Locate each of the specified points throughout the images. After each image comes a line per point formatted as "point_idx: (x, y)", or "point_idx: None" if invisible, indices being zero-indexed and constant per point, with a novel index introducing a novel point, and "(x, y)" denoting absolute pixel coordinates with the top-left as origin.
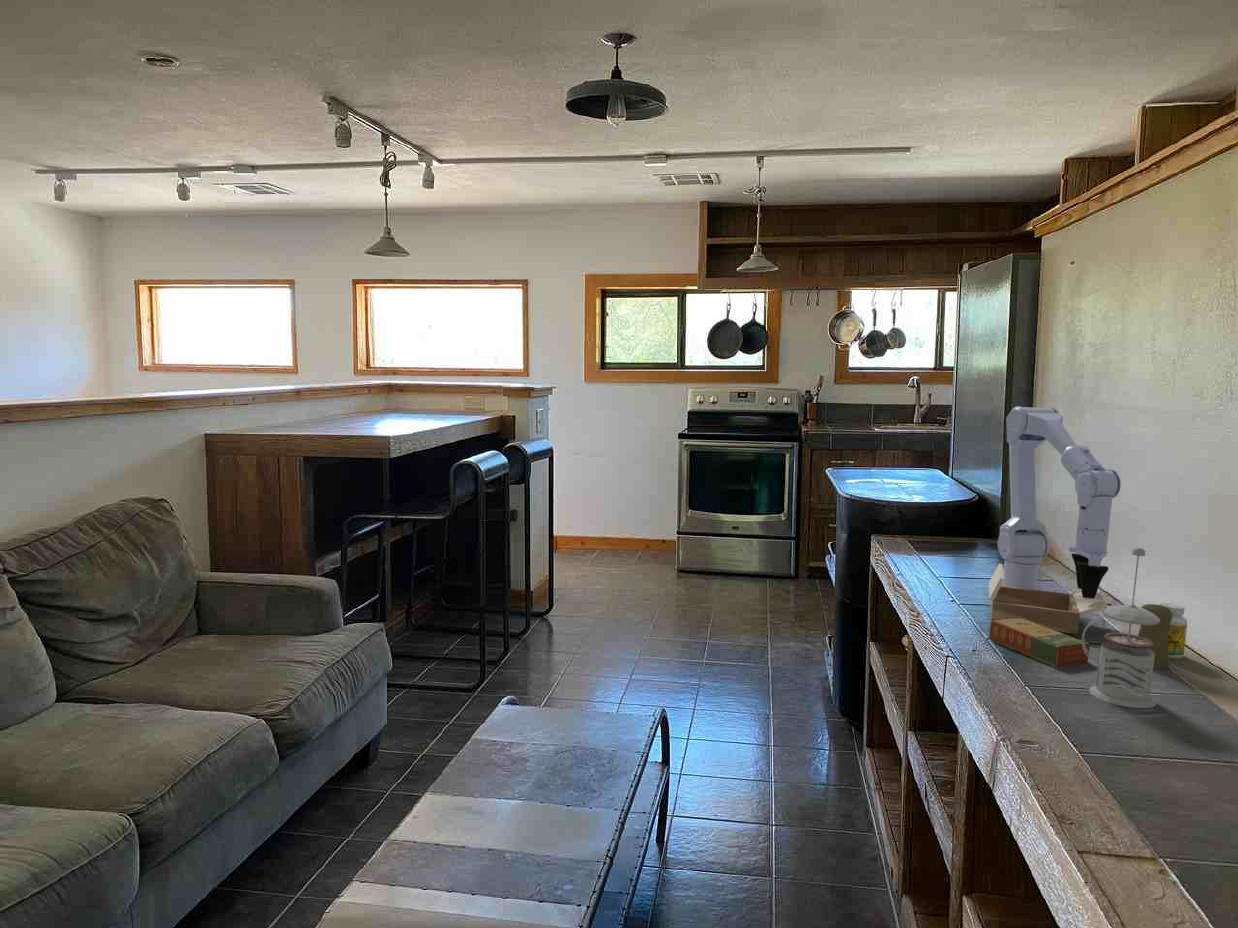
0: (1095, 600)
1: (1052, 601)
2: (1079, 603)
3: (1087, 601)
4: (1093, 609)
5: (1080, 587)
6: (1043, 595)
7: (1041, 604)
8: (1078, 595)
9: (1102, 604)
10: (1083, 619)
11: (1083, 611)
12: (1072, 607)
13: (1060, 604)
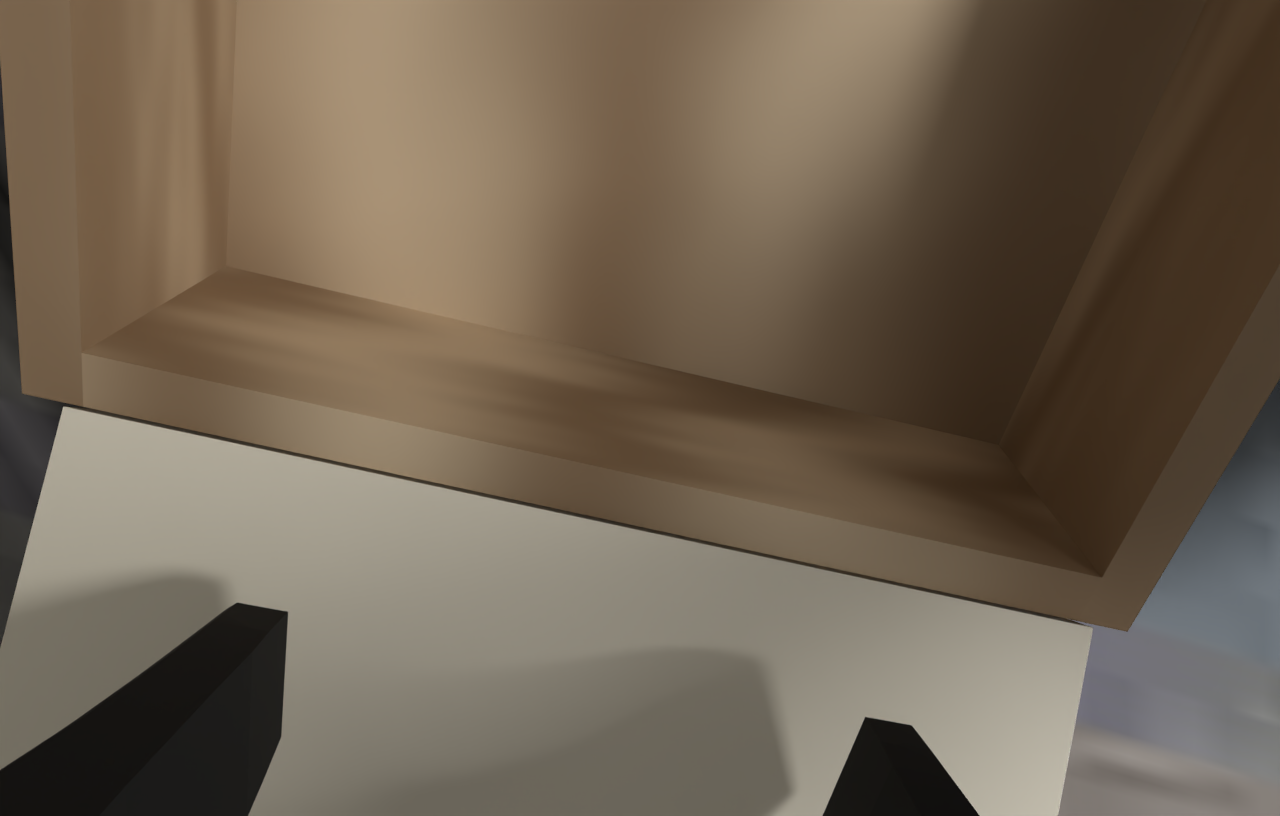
0: (359, 736)
1: (1136, 341)
2: (523, 544)
3: (466, 647)
4: (33, 587)
5: (863, 756)
6: (1241, 238)
7: (1164, 191)
8: (946, 661)
9: (7, 737)
10: None
11: (57, 455)
12: (497, 426)
13: (1072, 420)
